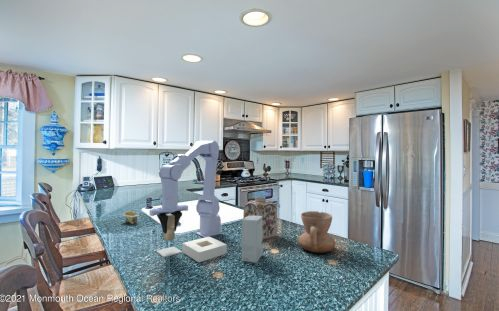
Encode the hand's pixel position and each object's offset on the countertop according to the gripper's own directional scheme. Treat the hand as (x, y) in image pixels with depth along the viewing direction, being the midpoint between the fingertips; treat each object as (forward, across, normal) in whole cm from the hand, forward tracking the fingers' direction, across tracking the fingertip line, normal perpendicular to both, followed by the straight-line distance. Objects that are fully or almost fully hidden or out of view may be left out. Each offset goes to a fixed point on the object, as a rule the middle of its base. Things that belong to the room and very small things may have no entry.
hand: (169, 231), depth 94 cm
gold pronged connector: (+8, +1, +52) cm, 52 cm away
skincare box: (+8, +21, -24) cm, 33 cm away
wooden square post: (+3, 0, 0) cm, 3 cm away
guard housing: (+8, +10, -9) cm, 16 cm away
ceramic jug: (+8, +46, -35) cm, 58 cm away
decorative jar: (+8, +41, -8) cm, 43 cm away
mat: (+8, 0, 0) cm, 8 cm away
